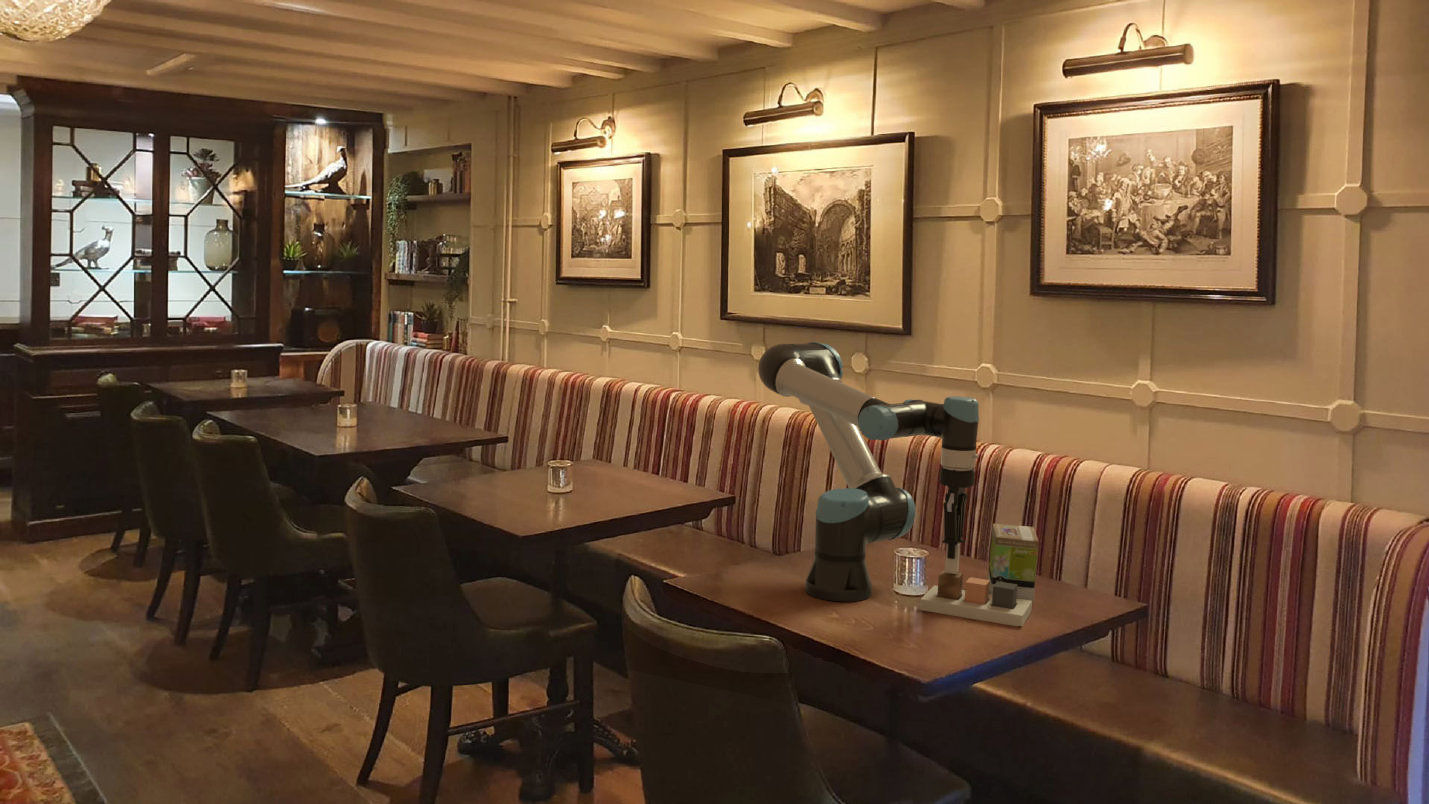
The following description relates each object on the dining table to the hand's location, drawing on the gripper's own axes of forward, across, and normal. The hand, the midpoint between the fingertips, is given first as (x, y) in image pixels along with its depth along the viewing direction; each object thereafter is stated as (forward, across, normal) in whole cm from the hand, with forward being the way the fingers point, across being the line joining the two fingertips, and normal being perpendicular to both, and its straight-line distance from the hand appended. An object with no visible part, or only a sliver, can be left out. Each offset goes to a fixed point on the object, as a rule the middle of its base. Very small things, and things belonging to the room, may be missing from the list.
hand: (951, 571), depth 246 cm
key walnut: (+6, 0, 0) cm, 6 cm away
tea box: (+8, +19, -10) cm, 23 cm away
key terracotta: (+6, 0, -6) cm, 9 cm away
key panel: (+8, 0, -6) cm, 10 cm away
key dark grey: (+6, 0, -12) cm, 13 cm away
